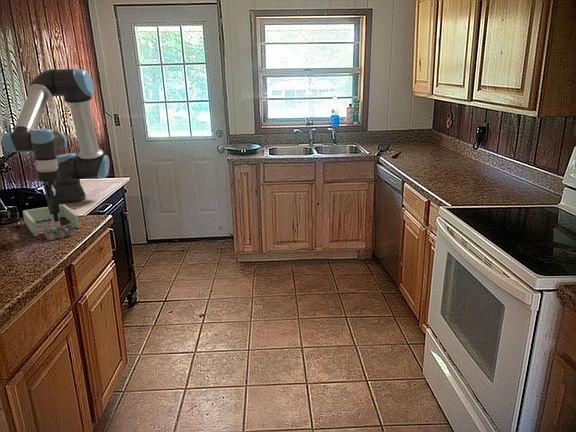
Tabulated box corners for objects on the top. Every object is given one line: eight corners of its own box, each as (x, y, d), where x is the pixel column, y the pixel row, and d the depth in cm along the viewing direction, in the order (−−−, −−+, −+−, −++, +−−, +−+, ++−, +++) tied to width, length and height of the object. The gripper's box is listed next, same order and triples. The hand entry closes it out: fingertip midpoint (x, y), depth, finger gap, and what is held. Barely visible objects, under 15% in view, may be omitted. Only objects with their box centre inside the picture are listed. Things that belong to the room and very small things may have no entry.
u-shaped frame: (24, 223, 189) (22, 210, 188) (66, 216, 199) (64, 204, 198) (34, 236, 172) (32, 222, 171) (79, 228, 182) (78, 215, 180)
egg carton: (47, 241, 167) (45, 231, 166) (43, 236, 173) (42, 226, 172) (77, 236, 173) (76, 225, 172) (73, 231, 179) (72, 221, 178)
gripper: (33, 169, 175) (43, 226, 181) (40, 173, 165) (50, 234, 172) (54, 166, 179) (63, 223, 186) (62, 171, 169) (71, 230, 176)
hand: (57, 228), depth 179 cm, fingers closed
